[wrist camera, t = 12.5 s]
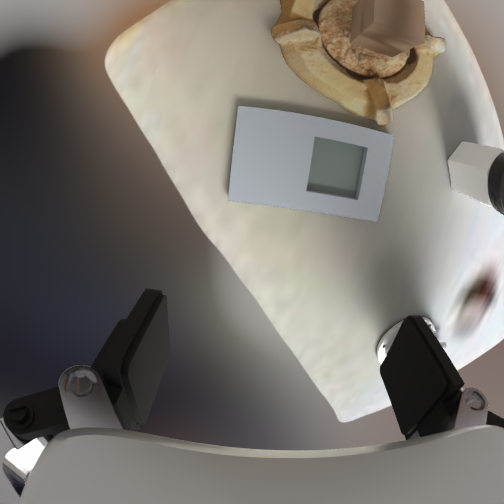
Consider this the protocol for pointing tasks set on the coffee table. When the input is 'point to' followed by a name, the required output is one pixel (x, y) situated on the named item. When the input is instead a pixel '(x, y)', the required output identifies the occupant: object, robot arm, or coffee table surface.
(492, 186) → the jar
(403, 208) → the coffee table surface
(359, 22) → the block
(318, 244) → the coffee table surface
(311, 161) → the pocket board
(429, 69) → the ashtray
